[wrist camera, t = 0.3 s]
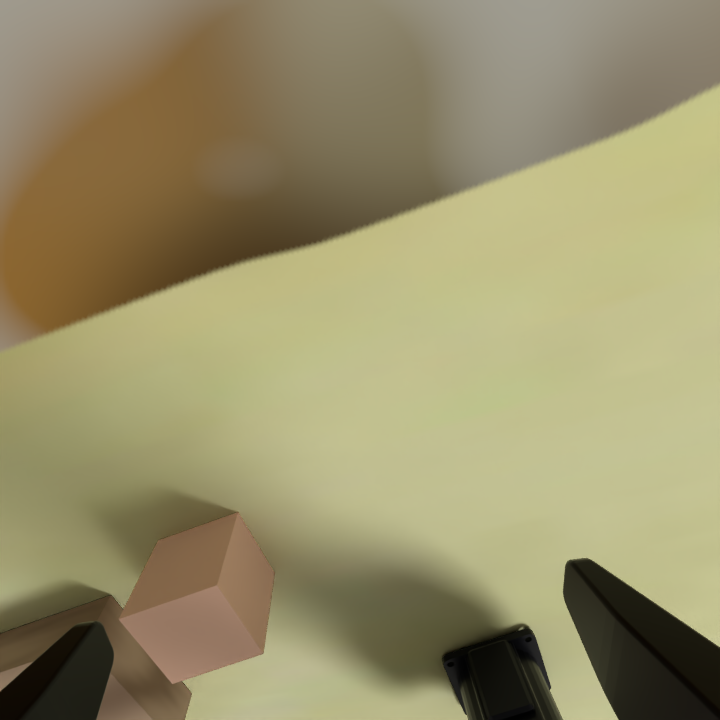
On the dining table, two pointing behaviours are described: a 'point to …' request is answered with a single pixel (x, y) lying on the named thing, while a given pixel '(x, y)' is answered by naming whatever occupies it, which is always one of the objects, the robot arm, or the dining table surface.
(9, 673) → the plinth
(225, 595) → the cube
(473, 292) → the dining table surface
